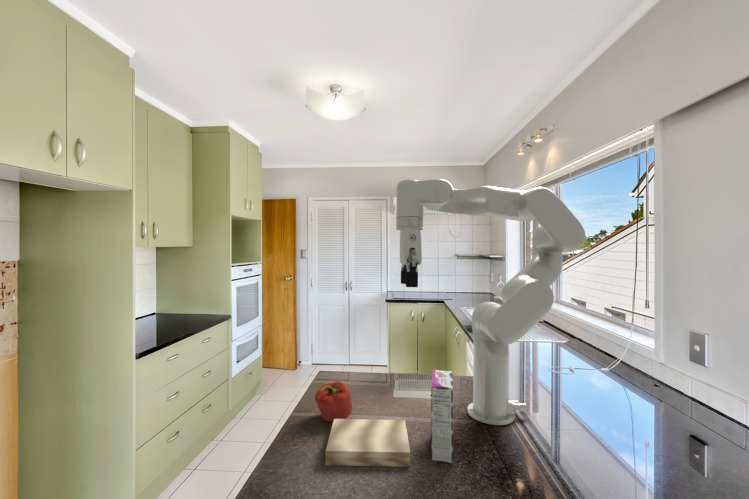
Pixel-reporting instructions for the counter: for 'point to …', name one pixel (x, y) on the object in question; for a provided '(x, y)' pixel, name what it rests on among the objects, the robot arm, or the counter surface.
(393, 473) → the counter surface
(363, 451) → the wavy beige tile
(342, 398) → the vegetable
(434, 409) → the candy bar box
